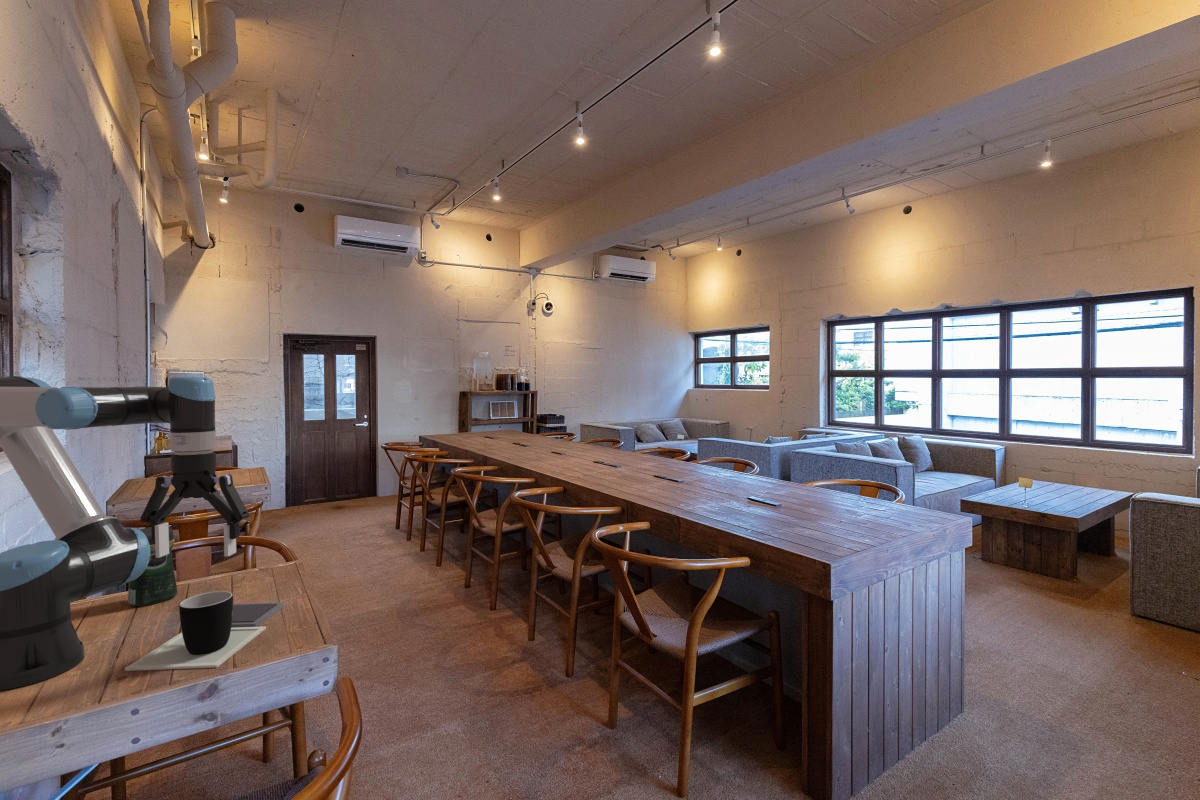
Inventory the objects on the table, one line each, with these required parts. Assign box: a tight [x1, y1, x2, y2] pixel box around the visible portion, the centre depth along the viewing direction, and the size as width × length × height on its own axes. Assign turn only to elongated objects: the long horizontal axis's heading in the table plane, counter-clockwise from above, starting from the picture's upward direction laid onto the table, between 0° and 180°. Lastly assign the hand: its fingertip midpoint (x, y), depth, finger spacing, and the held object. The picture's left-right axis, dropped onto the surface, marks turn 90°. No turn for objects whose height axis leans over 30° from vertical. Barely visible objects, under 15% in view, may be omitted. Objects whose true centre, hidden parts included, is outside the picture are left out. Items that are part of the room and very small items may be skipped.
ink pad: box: [231, 602, 285, 628], centre depth 129 cm, size 12×12×1 cm
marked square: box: [124, 625, 267, 672], centre depth 114 cm, size 17×17×1 cm
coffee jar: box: [127, 525, 178, 607], centre depth 141 cm, size 10×8×19 cm
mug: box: [178, 590, 234, 655], centre depth 115 cm, size 12×9×10 cm
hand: (196, 555), depth 114 cm, fingers open, 13 cm apart
